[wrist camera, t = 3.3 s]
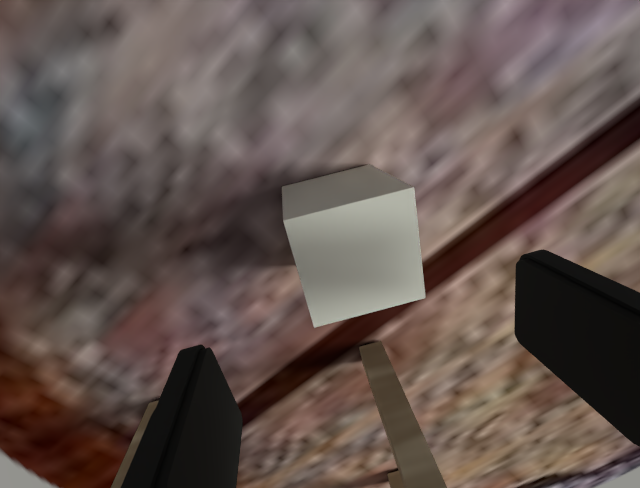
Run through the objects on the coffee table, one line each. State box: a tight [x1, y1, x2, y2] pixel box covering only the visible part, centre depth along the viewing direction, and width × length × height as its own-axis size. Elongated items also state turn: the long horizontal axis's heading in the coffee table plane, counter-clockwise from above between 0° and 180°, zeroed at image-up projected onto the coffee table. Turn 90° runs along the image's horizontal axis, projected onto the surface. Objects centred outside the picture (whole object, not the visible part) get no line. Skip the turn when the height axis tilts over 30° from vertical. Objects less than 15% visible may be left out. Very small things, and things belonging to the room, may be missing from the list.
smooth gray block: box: [282, 164, 425, 328], centre depth 15 cm, size 5×5×6 cm
